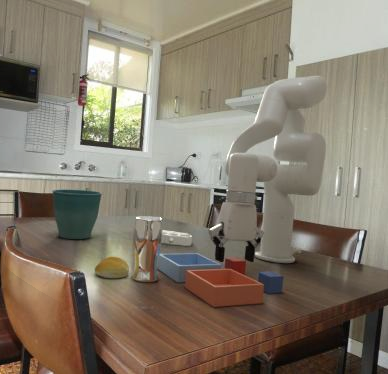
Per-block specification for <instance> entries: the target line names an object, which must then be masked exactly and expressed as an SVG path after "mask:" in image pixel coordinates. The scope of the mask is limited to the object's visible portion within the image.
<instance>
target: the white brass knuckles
mask: <svg viewBox="0 0 388 374" xmlns="http://www.w3.org/2000/svg"><path fill="white" fill-rule="evenodd" d="M192 243H193V236H192V235H191V234H190V233H189V232H178V231H172V230H164V229H162V242H161V244H164V245H171V246H183V247H189V246H192Z"/></svg>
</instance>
